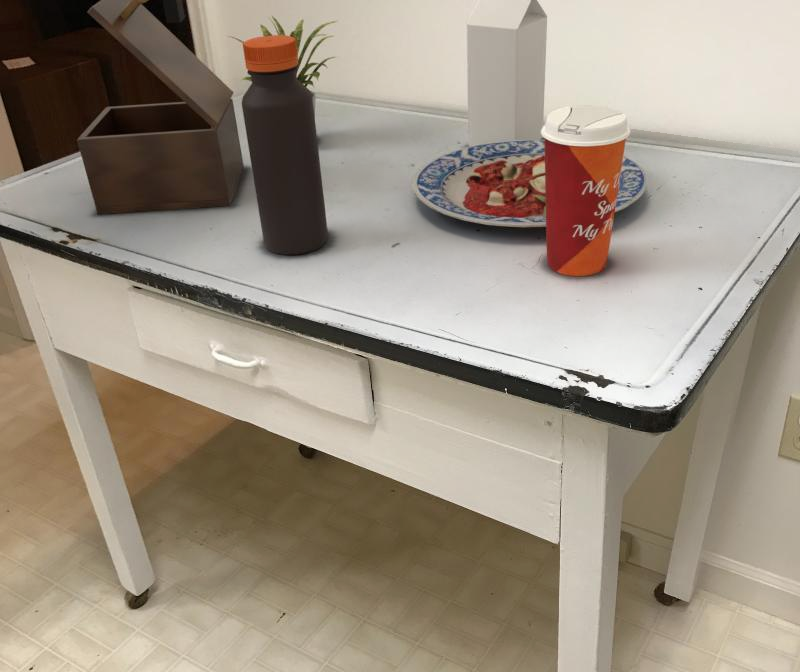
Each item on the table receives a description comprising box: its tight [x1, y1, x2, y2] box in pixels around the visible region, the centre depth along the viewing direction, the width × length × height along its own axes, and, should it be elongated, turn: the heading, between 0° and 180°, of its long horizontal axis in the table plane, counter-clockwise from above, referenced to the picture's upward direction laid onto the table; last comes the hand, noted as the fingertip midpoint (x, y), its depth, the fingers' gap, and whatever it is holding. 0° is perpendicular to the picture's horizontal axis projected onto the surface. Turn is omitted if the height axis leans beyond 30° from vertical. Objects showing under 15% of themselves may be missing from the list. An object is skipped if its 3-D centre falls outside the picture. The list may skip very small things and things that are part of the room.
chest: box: [76, 98, 245, 215], centre depth 102 cm, size 16×13×9 cm
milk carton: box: [466, 0, 548, 147], centre depth 106 cm, size 7×7×19 cm
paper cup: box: [541, 104, 631, 277], centre depth 78 cm, size 8×8×14 cm
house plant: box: [227, 15, 338, 117], centre depth 112 cm, size 14×14×16 cm
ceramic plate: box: [412, 139, 648, 228], centre depth 96 cm, size 26×26×3 cm
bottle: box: [241, 34, 329, 256], centre depth 84 cm, size 7×7×20 cm
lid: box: [87, 0, 234, 128], centre depth 95 cm, size 16×13×5 cm
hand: (176, 20), depth 94 cm, fingers closed
